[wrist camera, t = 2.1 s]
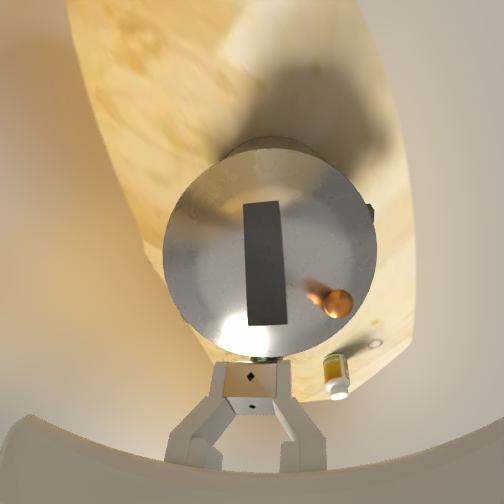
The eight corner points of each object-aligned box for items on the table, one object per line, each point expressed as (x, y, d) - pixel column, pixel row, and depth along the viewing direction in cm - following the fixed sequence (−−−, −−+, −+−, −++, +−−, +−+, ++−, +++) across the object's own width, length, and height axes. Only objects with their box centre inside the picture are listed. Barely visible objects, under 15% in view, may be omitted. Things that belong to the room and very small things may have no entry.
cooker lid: (175, 171, 24) (159, 151, 21) (352, 152, 22) (358, 127, 19) (171, 354, 20) (150, 358, 17) (381, 343, 18) (396, 347, 15)
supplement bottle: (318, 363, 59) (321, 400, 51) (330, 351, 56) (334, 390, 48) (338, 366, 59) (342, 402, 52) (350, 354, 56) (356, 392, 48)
